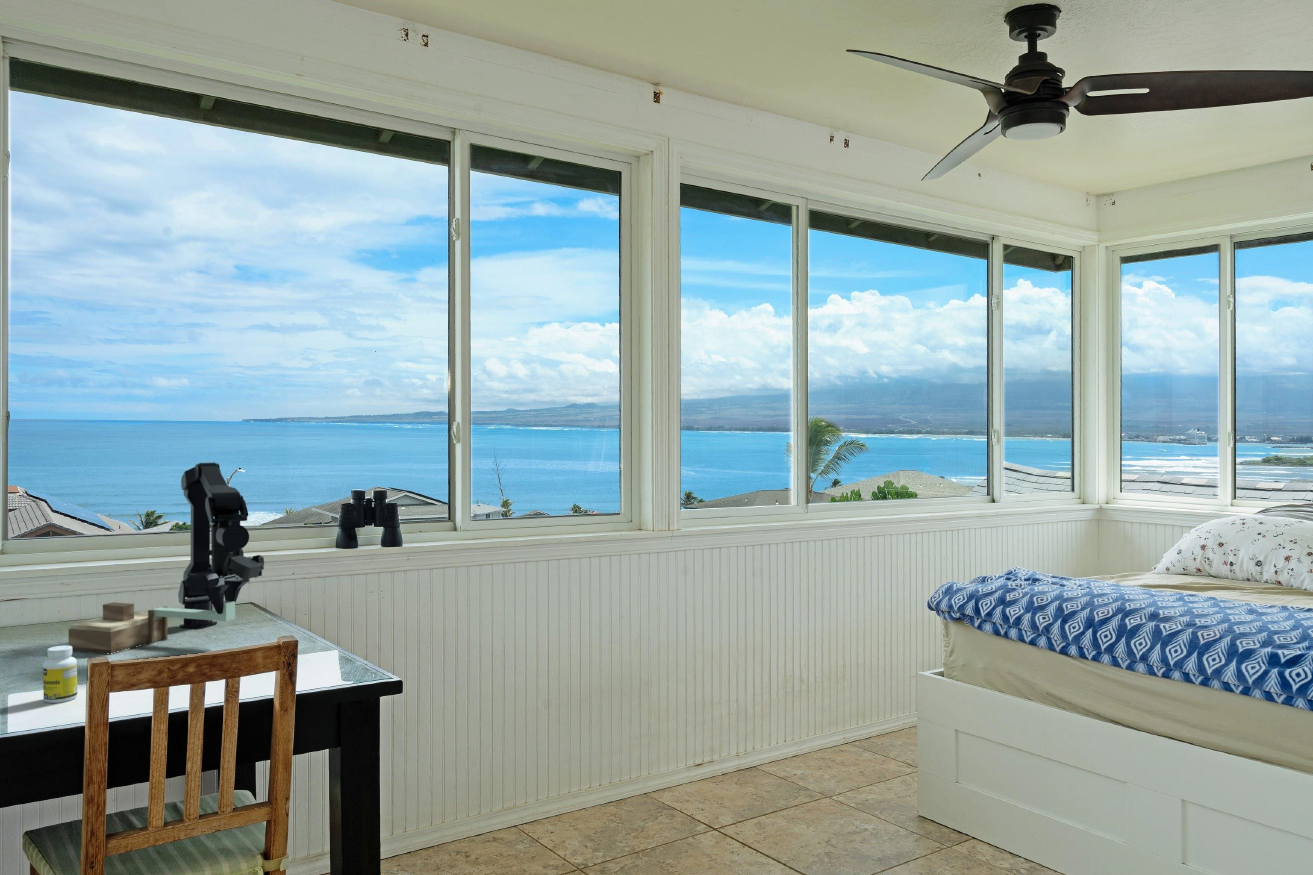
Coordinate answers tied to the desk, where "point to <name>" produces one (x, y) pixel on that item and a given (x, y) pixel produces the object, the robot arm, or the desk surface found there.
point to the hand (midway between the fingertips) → (225, 612)
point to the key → (198, 613)
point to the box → (119, 637)
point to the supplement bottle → (60, 675)
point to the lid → (114, 618)
